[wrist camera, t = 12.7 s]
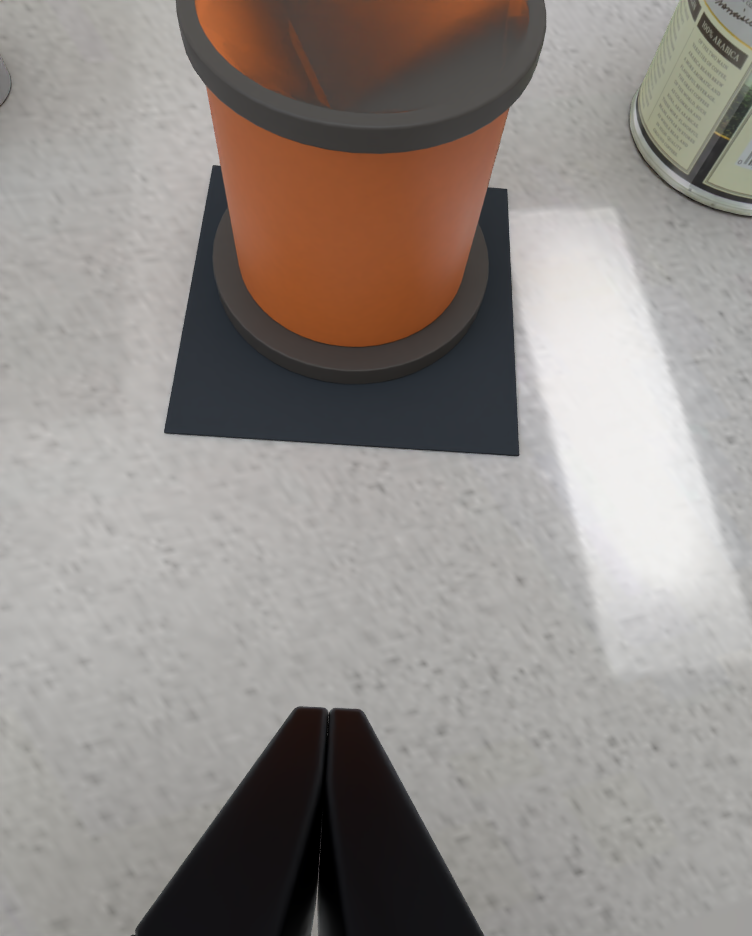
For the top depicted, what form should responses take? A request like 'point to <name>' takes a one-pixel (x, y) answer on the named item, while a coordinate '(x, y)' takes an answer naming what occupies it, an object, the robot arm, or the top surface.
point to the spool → (357, 170)
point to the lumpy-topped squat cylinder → (4, 81)
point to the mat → (350, 405)
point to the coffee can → (701, 104)
